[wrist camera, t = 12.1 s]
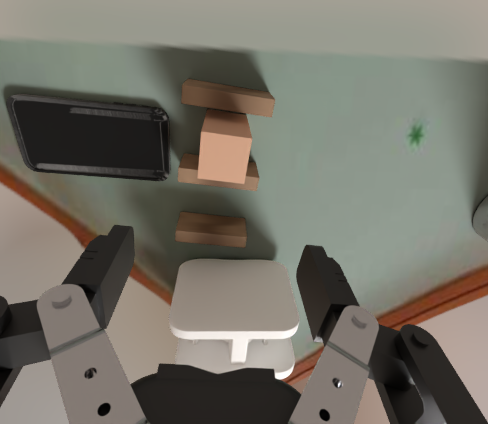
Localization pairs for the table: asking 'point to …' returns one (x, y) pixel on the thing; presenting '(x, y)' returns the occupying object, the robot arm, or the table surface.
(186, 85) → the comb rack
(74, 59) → the table surface
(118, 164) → the phone
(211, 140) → the plug block
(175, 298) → the cable organizer
